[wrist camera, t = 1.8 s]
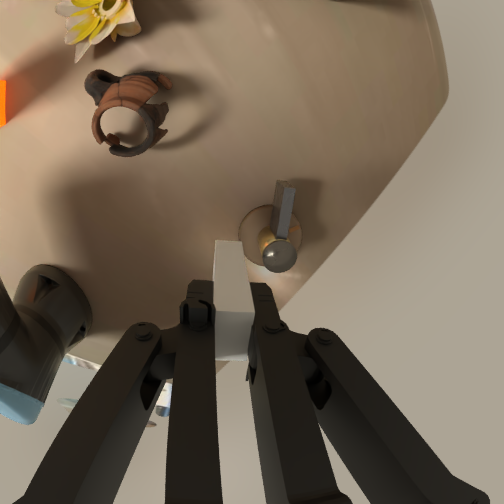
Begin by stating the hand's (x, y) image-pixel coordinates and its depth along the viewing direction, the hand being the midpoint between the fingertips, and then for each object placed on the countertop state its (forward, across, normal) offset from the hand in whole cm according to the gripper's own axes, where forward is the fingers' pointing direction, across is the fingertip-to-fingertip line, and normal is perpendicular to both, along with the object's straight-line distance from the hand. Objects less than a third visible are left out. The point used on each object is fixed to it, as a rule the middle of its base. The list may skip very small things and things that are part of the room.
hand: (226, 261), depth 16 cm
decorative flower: (+19, -18, +25) cm, 36 cm away
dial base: (+18, +6, -5) cm, 20 cm away
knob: (+17, +7, -2) cm, 18 cm away
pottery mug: (+19, -12, +10) cm, 24 cm away
